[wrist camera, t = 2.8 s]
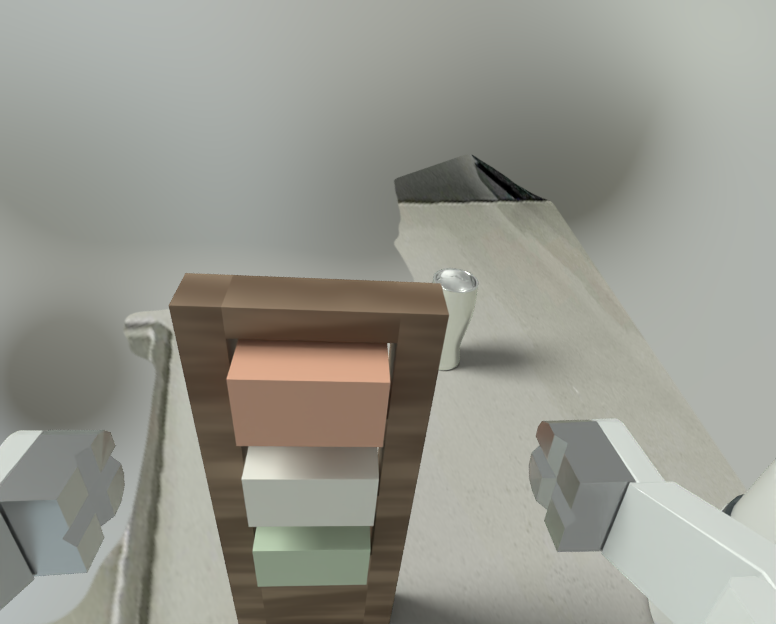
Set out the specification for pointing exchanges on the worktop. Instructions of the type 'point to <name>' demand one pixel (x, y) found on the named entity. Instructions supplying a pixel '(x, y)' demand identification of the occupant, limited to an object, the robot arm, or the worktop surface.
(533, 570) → the worktop surface
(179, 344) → the key panel
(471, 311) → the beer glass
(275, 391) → the terracotta key
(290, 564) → the sage key
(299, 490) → the cream key
